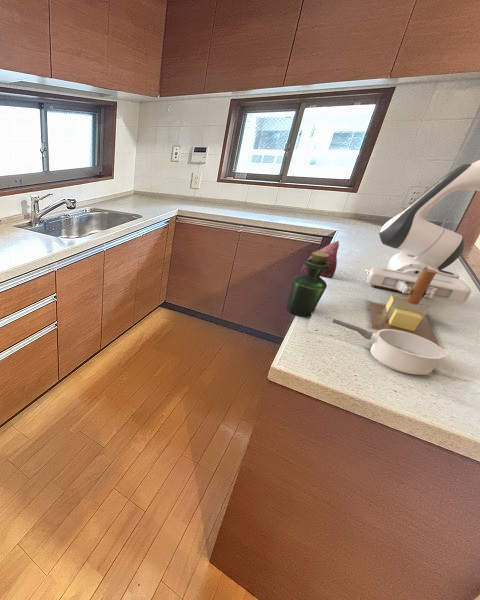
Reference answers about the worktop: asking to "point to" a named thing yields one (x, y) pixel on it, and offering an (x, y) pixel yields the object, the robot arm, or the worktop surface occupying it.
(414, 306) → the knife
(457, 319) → the worktop surface
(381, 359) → the saucepan
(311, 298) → the potion bottle
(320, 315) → the worktop surface
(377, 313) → the cutting board
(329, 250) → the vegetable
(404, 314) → the butter slice
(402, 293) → the dark brown rectangular block
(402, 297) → the butter block
